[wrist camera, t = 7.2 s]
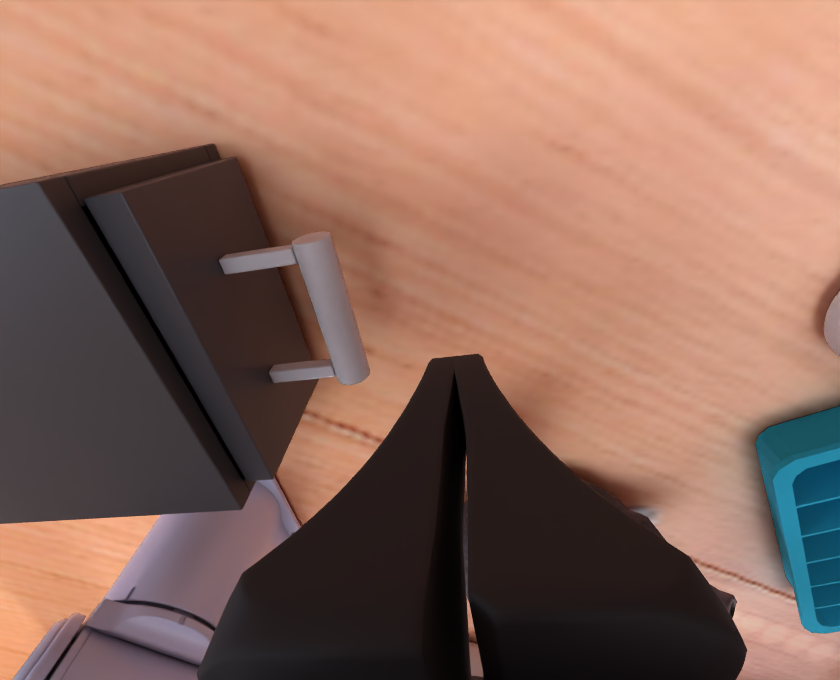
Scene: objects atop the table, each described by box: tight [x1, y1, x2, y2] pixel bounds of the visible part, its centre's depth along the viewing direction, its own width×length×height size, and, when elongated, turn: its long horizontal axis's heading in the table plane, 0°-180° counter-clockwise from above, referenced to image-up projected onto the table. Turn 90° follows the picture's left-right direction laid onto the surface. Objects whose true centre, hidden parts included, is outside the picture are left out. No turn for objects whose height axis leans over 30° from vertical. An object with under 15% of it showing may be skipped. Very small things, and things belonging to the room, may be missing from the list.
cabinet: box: [0, 144, 256, 524], centre depth 17 cm, size 14×13×9 cm
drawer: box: [82, 157, 370, 481], centre depth 17 cm, size 17×11×7 cm
